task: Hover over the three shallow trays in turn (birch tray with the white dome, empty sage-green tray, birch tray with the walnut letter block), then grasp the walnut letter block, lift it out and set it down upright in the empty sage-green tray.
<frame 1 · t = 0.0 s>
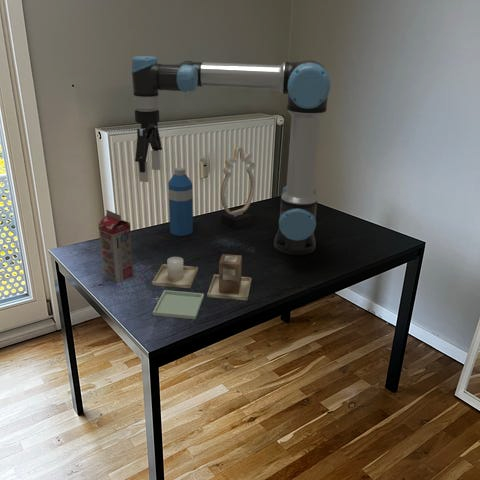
hand: (150, 175, 157), 28 cm above the table, fingers open, 13 cm apart
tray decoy: (175, 278, 152), on the table
water bottle: (181, 231, 186), on the table
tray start: (230, 290, 146), on the table
white dome: (175, 277, 152), point 1 cm above the table, touching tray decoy
letter block: (230, 288, 146), point 1 cm above the table, touching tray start
juice carton: (119, 277, 152), on the table
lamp: (236, 223, 195), on the table
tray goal: (179, 307, 137), on the table
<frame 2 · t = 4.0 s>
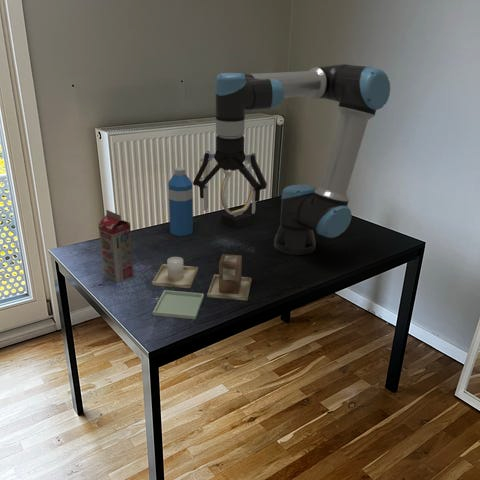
hand: (229, 210, 135), 26 cm above the table, fingers open, 13 cm apart
nothing on the table moved.
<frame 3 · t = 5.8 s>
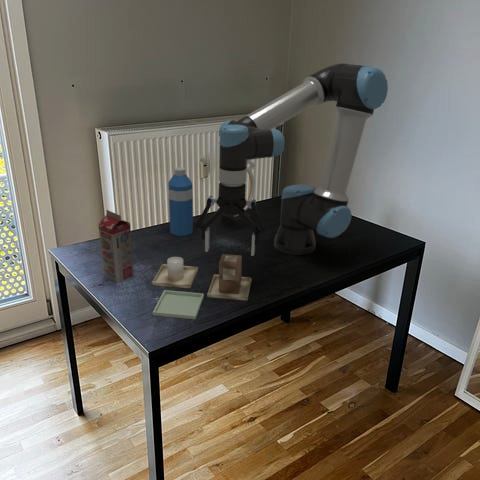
hand: (229, 251, 141), 13 cm above the table, fingers open, 13 cm apart
nothing on the table moved.
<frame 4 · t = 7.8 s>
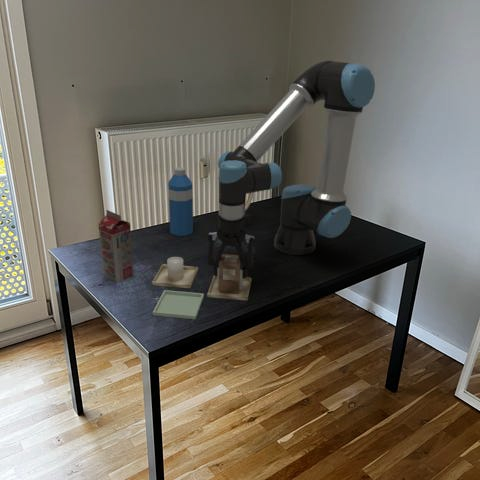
hand: (230, 285, 146), 1 cm above the table, fingers closed on letter block, 6 cm apart
letter block: (230, 288, 146), point 1 cm above the table, touching gripper, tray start
everything else where it was.
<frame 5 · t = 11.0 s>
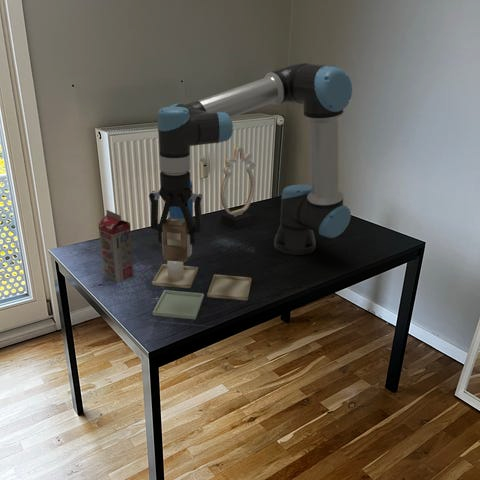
hand: (177, 253, 130), 17 cm above the table, fingers closed on letter block, 6 cm apart
letter block: (177, 256, 130), point 16 cm above the table, touching gripper
everything else where it was.
when the fingers open (3 cm above the table, at t = 14.2 s): letter block drops 1 cm, resting on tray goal.
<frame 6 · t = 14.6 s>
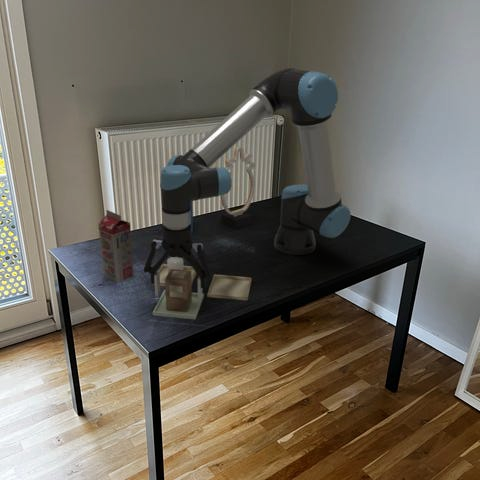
hand: (178, 295, 135), 4 cm above the table, fingers open, 11 cm apart
letter block: (179, 305, 137), point 1 cm above the table, touching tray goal
everything else where it was.
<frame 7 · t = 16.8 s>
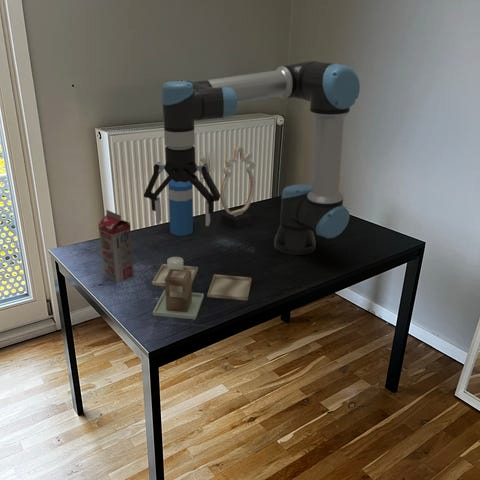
hand: (183, 222, 130), 25 cm above the table, fingers open, 13 cm apart
nothing on the table moved.
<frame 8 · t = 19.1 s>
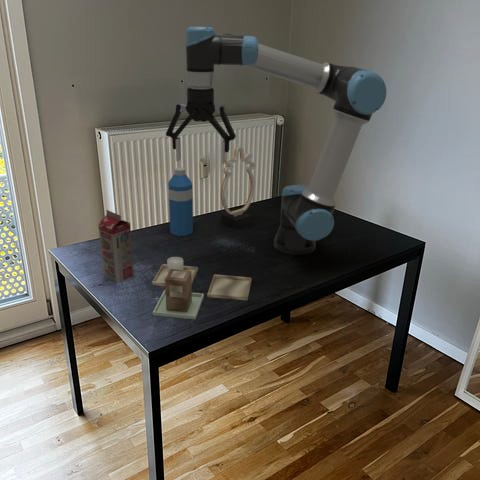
hand: (201, 161, 142), 37 cm above the table, fingers open, 13 cm apart
nothing on the table moved.
at the end: letter block inside the target area on the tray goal (0.0 cm from its centre), point 0.6 cm above the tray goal's base; letter block tilted 0°; the gripper is holding nothing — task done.
